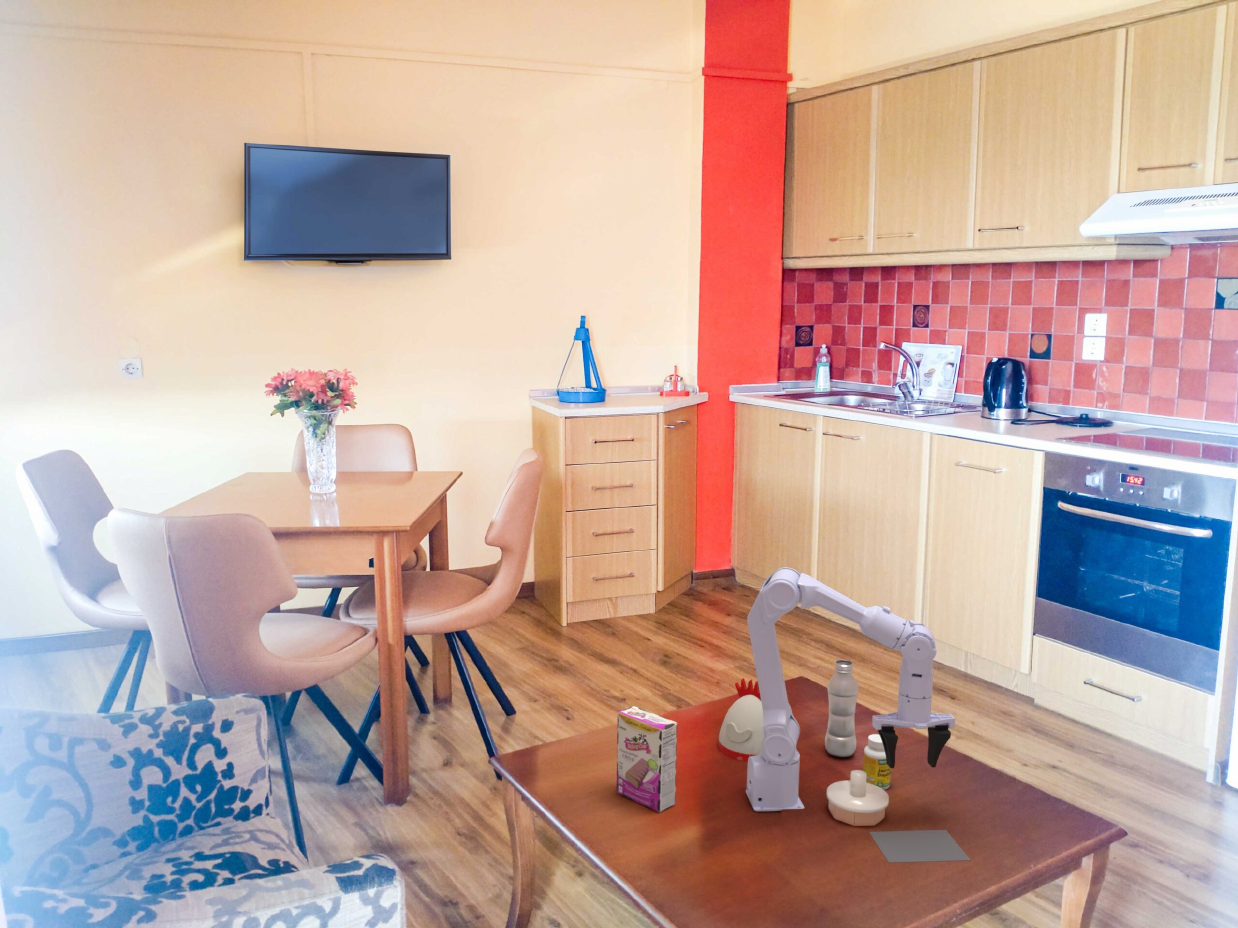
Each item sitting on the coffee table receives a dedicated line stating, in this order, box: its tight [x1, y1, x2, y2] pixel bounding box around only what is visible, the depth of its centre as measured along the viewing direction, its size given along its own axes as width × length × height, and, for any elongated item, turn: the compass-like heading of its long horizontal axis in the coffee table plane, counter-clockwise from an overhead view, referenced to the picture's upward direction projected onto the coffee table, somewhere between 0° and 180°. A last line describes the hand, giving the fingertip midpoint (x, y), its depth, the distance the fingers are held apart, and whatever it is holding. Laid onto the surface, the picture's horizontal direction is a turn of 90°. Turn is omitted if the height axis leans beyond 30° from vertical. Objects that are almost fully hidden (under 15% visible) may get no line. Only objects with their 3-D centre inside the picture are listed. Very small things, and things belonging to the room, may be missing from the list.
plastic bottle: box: [824, 659, 860, 758], centre depth 203 cm, size 6×7×20 cm
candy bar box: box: [616, 705, 678, 813], centre depth 182 cm, size 11×5×16 cm, turn 47°
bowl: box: [828, 800, 886, 827], centre depth 178 cm, size 9×9×4 cm
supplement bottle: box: [862, 733, 892, 791], centre depth 190 cm, size 5×5×10 cm
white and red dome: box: [718, 677, 764, 763], centre depth 206 cm, size 14×14×15 cm
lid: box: [826, 769, 890, 813], centre depth 177 cm, size 11×11×5 cm
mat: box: [868, 829, 971, 864], centre depth 167 cm, size 14×10×1 cm
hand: (911, 765), depth 175 cm, fingers open, 7 cm apart
